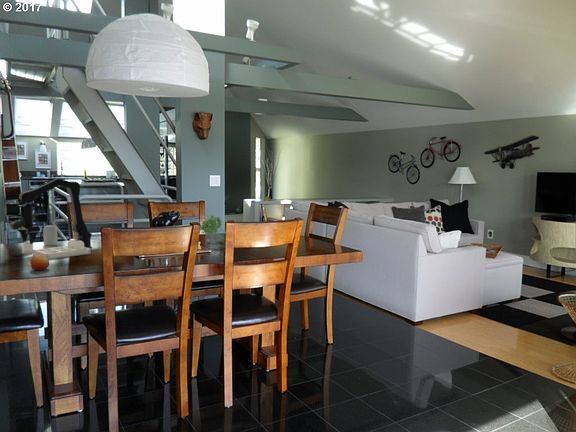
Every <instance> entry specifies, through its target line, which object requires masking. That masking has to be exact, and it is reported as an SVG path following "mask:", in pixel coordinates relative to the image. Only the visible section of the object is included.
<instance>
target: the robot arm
mask: <svg viewBox="0 0 576 432" xmlns="http://www.w3.org/2000/svg"><path fill="white" fill-rule="evenodd" d="M56 187H62V188H66V191H67V193H68V195H69V196H70V202H71V207H72V212H73V217H74V223H72V224H71V227H72V232H74V234H76V235H77V237H78V238H77V239H76V240H77V241H78V240H80V241H83V243H84V247H87V248H93V246H92V244H91V243H92V241H91V240H92V239H91V238H92V236H93V235H92V233H91V232H90V231H88V227H87V224H86V222H85V221H84V218H83V213H82V207H81V201H80V200H81V199H80V194H81V185H80V183H79V182H77V181H71V180H70V181H68V180H65V179H62V178H58V177H57V178H54V179H52V180H51V181H49V182H47V183H45V184H42V185H39V186H38V187H36V188H34V189H29V190H26V191H22V192H21V193H19V196H18V199H17V200H16V201H15V202H14V203H10V202H6V203H4V209H3V213H4V216H5V217H13V216H19V215H20V216H19V218H18V220H14V221H12V222H10V223H8V225H9V227H10V229H11V230H13V231H17V232H18V233H19V234H20V237H21V240H22V242H23V243H24V242H25V241H27V239H29V240H28V241H30V244H33V245H34V242H35V240H36V237H37V236H38V234H39V233H40V232H41V227H39V226H38V225H35V223H34V219H35V216H34V215H33V213H34V212H33V210H34V209H33V208H35V207H37V205H36V204H35V203H34V202H33V201H35V200H36V199H37V198H38V197H39V196H41V195H42V194H45V193H47V192H49V191H51V190H53V189H55V188H56Z"/></svg>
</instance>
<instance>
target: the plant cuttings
mask: <svg viewBox="0 0 576 432" xmlns="http://www.w3.org/2000/svg"><path fill="white" fill-rule="evenodd" d="M221 227H222V220H221V218H220V216H218V217H217V216H216V217H215V215H214V214H213V215H212V214H211V215H209V216H207V218H205V219H204V220H203V221H202V223H201V225H200V228H199V230H200V231H201V234H207V235H208V236H210V239H212V238H213V237H216V236H215V235H218V229H220V230H221V231H222V232H223V233H225V231H224V230H223V229H222V228H221ZM219 238H221V239H223V240H225V241H226V239H225V238H226V237H225V236H223V235H219ZM210 239H209V238H207V239H206V240H205V241H206V243H207V242H208V243H209V242H210ZM221 239H219V241H220V242H222V243H223V244H225V242H224V241H222V240H221Z"/></svg>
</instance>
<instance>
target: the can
mask: <svg viewBox="0 0 576 432" xmlns="http://www.w3.org/2000/svg"><path fill="white" fill-rule="evenodd" d="M42 230H43V234H42V235H43V245H44V246H45V247H54V246H57V245H58V227H56V225H53V224H51V225H50V224H49V225H44V227H43V229H42Z"/></svg>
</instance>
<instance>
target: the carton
mask: <svg viewBox="0 0 576 432" xmlns="http://www.w3.org/2000/svg"><path fill="white" fill-rule="evenodd" d="M77 240H78V239H74V238H71V239H69V240H68V241H67V245H66V246H57V247H48V248H38V249H33V253H32V256H33V257H34V256H35V255H43V256H45V257H47V259H48V260H55V259H62V258H68V257H69V258H71V257H76V256H84V255H85V256H86V255H91V253H92V249H91V248H92V247H91V248H87V247H84V243H83V241H80V240H78V241H77Z"/></svg>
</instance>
